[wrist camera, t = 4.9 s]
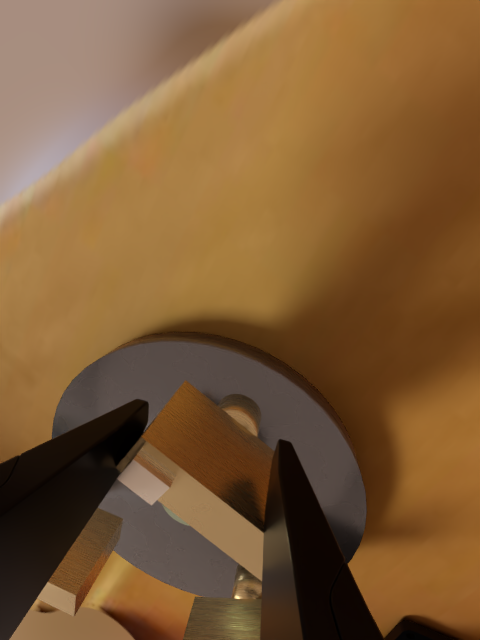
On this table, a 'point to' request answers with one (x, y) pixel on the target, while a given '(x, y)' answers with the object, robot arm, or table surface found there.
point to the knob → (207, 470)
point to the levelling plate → (215, 383)
